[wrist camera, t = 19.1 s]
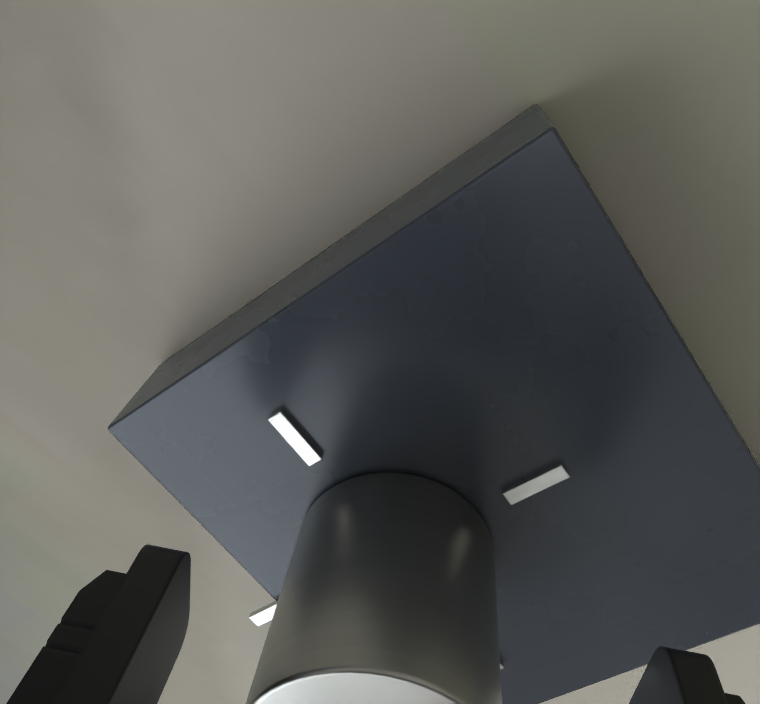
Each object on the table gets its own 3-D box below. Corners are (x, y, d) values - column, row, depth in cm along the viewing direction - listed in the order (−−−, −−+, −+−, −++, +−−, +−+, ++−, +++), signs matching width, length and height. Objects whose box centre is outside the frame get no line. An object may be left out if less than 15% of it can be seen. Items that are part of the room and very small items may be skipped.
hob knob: (377, 645, 17) (344, 887, 13) (260, 526, 16) (175, 745, 11) (532, 575, 16) (560, 820, 11) (417, 437, 14) (394, 648, 10)
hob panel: (137, 380, 18) (78, 449, 15) (536, 102, 14) (554, 127, 11) (404, 664, 22) (395, 762, 19) (782, 507, 18) (841, 602, 15)
